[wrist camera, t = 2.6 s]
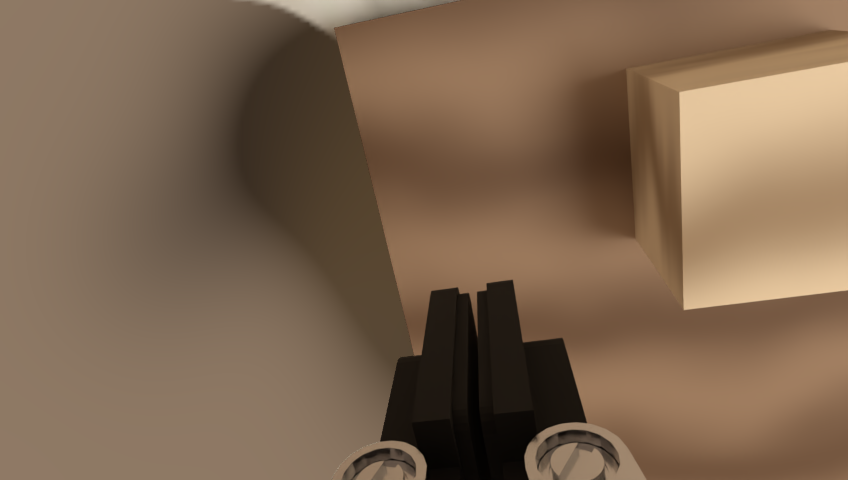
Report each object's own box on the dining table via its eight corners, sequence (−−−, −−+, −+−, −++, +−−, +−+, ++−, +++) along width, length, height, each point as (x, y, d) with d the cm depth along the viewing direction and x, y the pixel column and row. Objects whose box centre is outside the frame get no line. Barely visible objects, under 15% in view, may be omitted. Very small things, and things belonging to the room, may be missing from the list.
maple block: (626, 68, 18) (679, 91, 13) (831, 29, 17) (966, 40, 12) (635, 238, 20) (683, 309, 15) (816, 213, 19) (925, 281, 14)
